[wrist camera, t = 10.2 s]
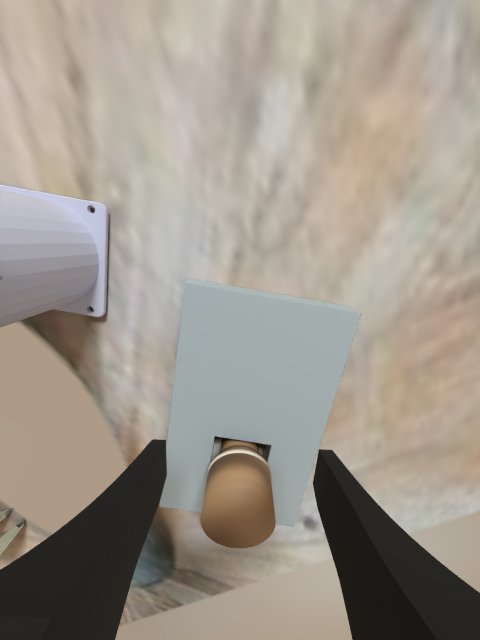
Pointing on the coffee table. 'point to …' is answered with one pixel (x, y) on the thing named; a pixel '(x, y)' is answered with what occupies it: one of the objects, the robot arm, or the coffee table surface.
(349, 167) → the coffee table surface
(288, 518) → the board
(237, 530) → the peg
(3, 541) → the caliper
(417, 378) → the coffee table surface
